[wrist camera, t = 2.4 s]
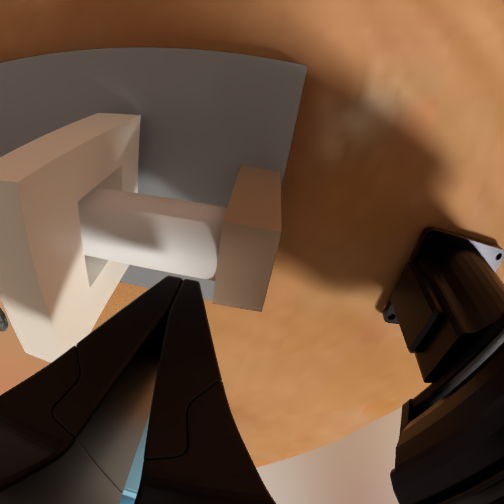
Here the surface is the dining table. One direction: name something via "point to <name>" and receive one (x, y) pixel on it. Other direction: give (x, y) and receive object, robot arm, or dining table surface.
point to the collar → (60, 229)
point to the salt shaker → (3, 321)
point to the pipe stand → (174, 157)
